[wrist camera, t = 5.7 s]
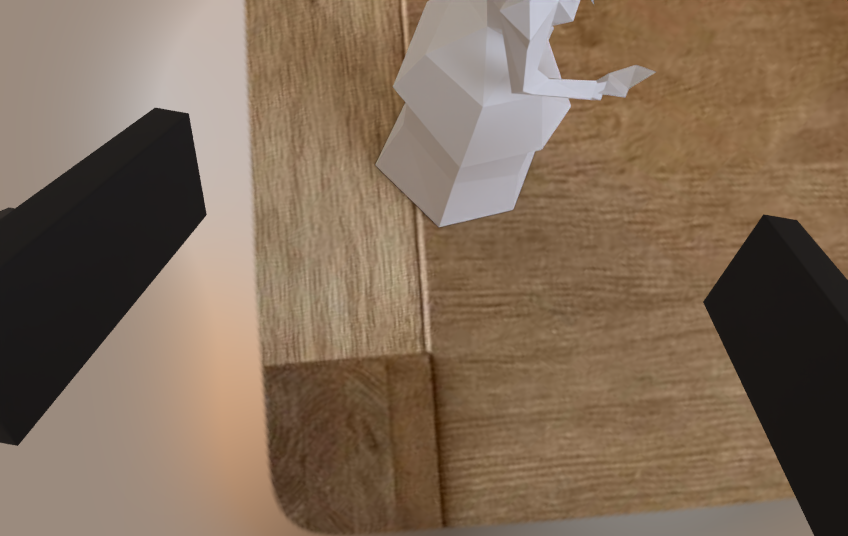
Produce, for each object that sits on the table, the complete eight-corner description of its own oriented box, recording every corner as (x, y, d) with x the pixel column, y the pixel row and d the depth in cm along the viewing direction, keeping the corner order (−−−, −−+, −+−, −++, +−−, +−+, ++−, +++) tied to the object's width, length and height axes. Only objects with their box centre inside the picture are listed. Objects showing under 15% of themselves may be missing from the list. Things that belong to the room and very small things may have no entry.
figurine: (558, 197, 24) (1000, -157, 6) (395, 240, 23) (334, 5, 6) (517, 61, 24) (806, -642, 6) (358, 102, 24) (193, -522, 6)
